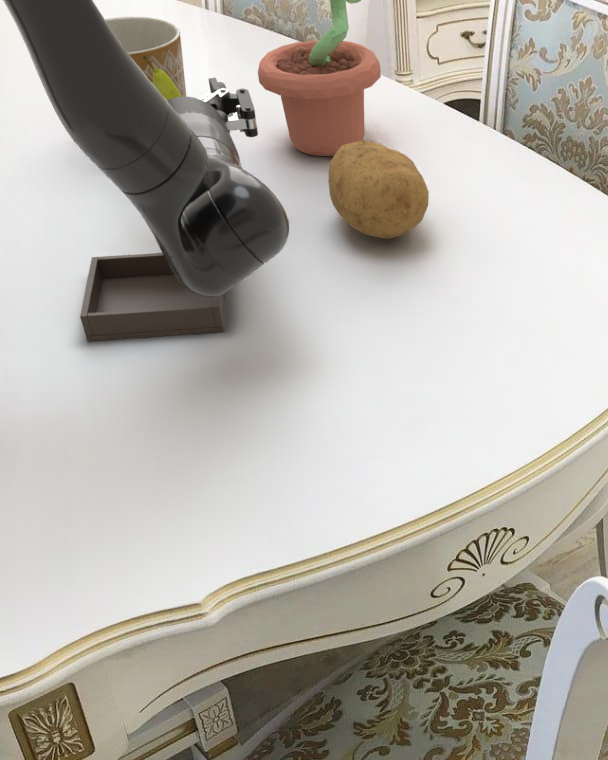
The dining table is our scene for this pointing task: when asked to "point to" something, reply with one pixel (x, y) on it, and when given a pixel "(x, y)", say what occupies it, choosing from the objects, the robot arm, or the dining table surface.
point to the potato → (377, 189)
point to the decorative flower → (322, 86)
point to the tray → (144, 300)
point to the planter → (152, 46)
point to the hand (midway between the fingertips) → (170, 92)
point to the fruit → (163, 82)
